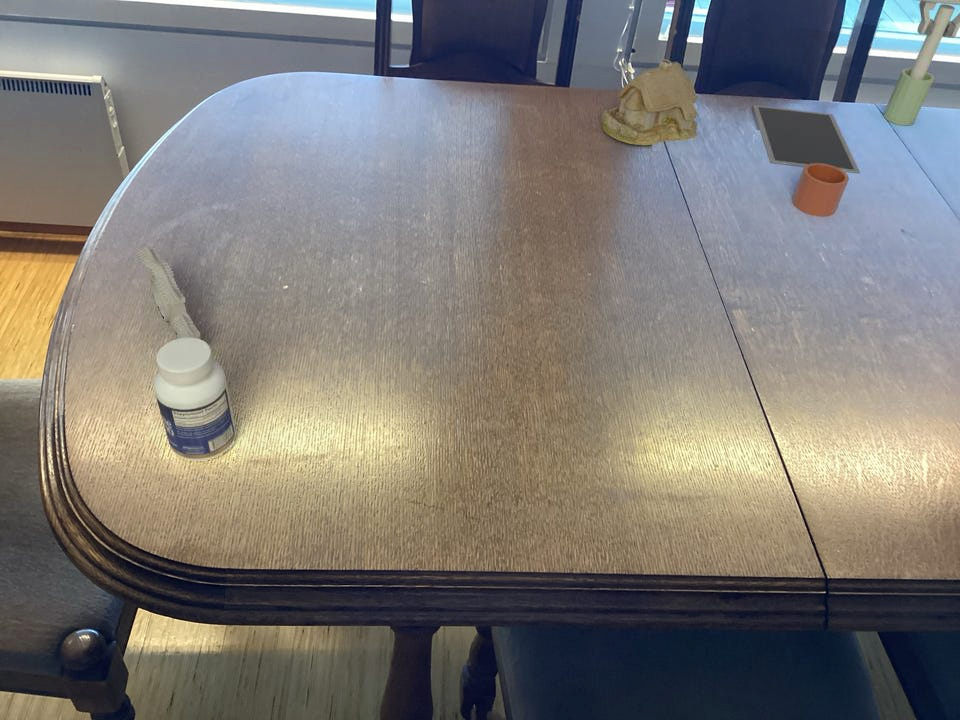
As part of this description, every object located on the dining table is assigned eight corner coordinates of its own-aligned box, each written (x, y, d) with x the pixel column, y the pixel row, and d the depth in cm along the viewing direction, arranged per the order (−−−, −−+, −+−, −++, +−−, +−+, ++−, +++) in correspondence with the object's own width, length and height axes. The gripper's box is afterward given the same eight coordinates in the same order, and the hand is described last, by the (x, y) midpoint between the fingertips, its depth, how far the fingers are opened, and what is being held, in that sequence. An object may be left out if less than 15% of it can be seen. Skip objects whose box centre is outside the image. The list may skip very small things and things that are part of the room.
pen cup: (909, 114, 128) (929, 70, 123) (917, 127, 124) (938, 82, 120) (879, 110, 128) (898, 66, 123) (887, 123, 125) (906, 79, 120)
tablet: (830, 119, 124) (832, 113, 124) (857, 177, 111) (860, 171, 110) (751, 109, 125) (753, 104, 124) (768, 166, 112) (770, 161, 111)
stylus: (916, 86, 124) (952, 5, 116) (919, 92, 122) (957, 9, 114) (902, 85, 124) (938, 3, 116) (906, 90, 122) (942, 8, 114)
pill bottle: (171, 421, 70) (148, 334, 63) (236, 414, 71) (220, 327, 64) (168, 469, 66) (143, 381, 59) (237, 460, 67) (220, 374, 60)
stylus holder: (829, 200, 106) (843, 165, 102) (838, 222, 102) (853, 187, 98) (787, 195, 106) (800, 160, 103) (794, 217, 102) (808, 182, 99)
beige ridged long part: (206, 356, 76) (196, 306, 72) (187, 363, 75) (175, 312, 71) (165, 287, 83) (153, 238, 79) (147, 292, 82) (134, 243, 78)
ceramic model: (657, 104, 124) (672, 38, 117) (712, 135, 117) (731, 67, 111) (587, 124, 117) (599, 54, 111) (641, 158, 111) (657, 86, 104)
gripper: (1051, -69, 110) (1000, 35, 120) (898, -85, 111) (859, 18, 120) (1071, -55, 106) (1016, 51, 115) (911, -73, 106) (869, 34, 116)
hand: (935, 34), depth 118 cm, fingers closed on stylus, 2 cm apart
